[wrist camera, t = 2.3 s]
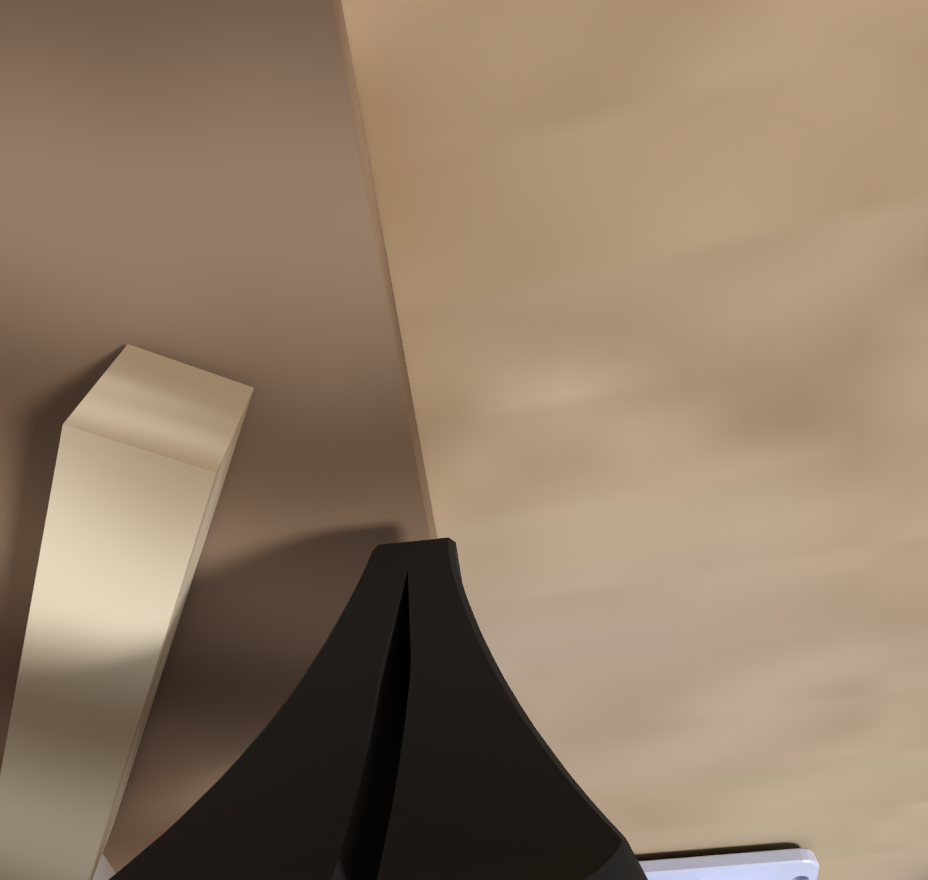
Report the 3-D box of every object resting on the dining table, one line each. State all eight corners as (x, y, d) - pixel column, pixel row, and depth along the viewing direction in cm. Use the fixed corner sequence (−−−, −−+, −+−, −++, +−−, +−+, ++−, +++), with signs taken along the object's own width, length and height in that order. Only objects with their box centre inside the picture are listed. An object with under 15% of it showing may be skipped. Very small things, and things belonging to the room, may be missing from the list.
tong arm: (114, 822, 19) (73, 927, 17) (28, 804, 18) (-25, 910, 16) (254, 387, 12) (215, 472, 10) (127, 344, 12) (62, 424, 10)
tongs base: (504, 917, 24) (512, 1059, 21) (-56, 961, 25) (-127, 1103, 22) (321, -107, 10) (265, -131, 7) (-937, 78, 11) (-1475, 129, 8)
